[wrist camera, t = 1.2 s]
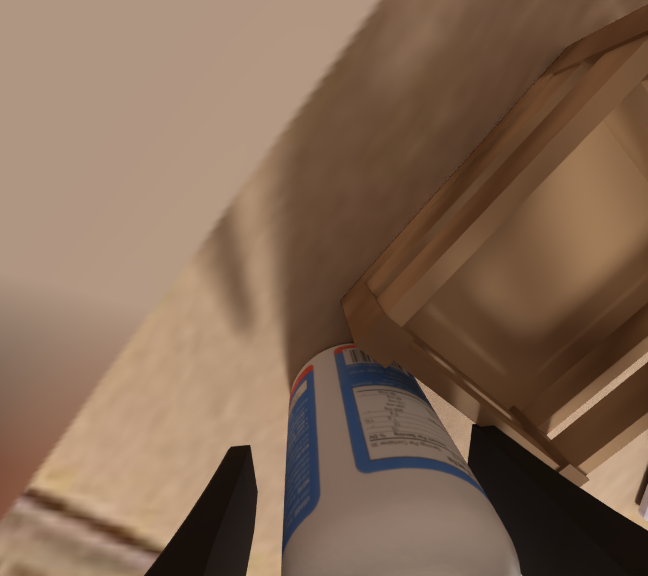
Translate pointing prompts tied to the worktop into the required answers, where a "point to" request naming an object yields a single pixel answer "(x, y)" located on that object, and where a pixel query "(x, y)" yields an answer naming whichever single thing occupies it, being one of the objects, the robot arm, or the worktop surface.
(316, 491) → the pill bottle
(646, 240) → the crate
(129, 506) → the worktop surface
